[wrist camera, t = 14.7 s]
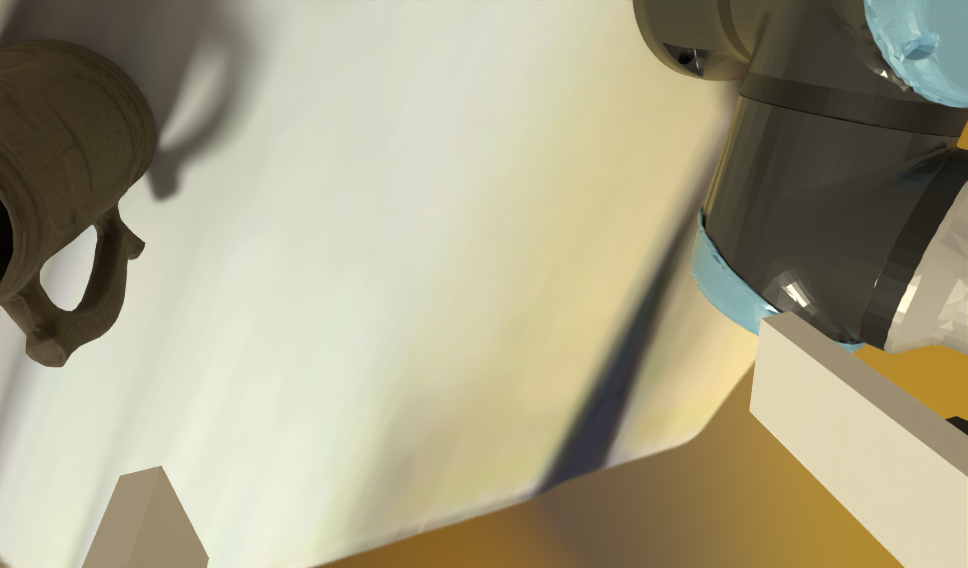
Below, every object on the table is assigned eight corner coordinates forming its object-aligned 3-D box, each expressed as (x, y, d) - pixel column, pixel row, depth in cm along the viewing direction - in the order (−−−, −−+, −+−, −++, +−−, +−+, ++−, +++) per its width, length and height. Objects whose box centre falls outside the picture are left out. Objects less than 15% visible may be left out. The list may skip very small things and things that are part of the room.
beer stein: (-80, 88, 38) (-383, 209, 21) (55, -7, 37) (-148, 39, 20) (117, 259, 46) (12, 443, 30) (230, 184, 46) (187, 327, 29)
